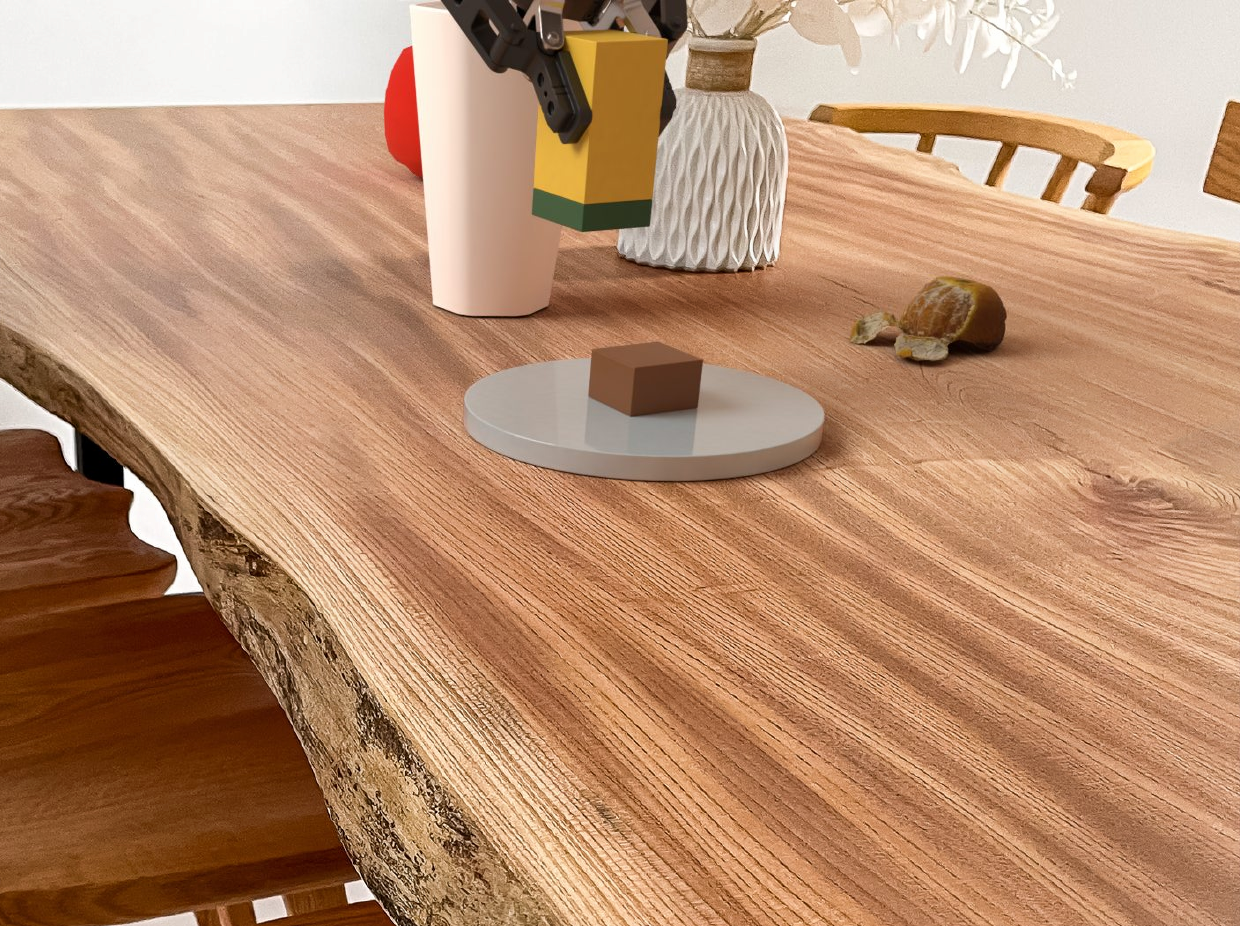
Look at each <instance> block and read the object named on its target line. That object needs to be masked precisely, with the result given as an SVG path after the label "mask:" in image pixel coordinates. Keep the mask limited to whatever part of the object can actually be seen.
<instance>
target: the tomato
mask: <svg viewBox="0 0 1240 926" xmlns="http://www.w3.org/2000/svg"><path fill="white" fill-rule="evenodd" d="M383 104H384V105H383V123H384V137H385V142H386V145H387V150H388V152H389V154H390V155H391V156H392V158H393V159H394V160H395V161H396V162H398V163H400V164H401V165H403V166H405V167H406V169H408V170H409V171H410V172H411V173H412V174H413V175H415V176H417V177H418V178H419V179H422V180H423V171H422V158H421V146H420V133H419V121H418V108H417V96H416V83H415V71H414V58H413V46H412V45H409V46H408V47H405V48H403V49H402V50H401V52H400V53H399V56H398V58H397V59H396V61H395V62H394V64H393V67H392V68H391V71H390V74H389V78H388V83H387V86H386V89H385V94H384V103H383Z"/></svg>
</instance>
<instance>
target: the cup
mask: <svg viewBox="0 0 1240 926" xmlns="http://www.w3.org/2000/svg"><path fill="white" fill-rule="evenodd" d="M509 1H510V0H509ZM510 3H511V2H510ZM511 4H512V3H511ZM408 7H409V18H410V31H411V32H410V33H411V43H412V44H411V46H413V58H414V71H415V83H416V96H417V108H418V121H419V133H420V146H421V158H422V171H423V179H422V181H423V195H424V207H425V208H424V209H425V219H426V230H427V231H426V233H427V245H428V246H427V247H428V257H429V270H430V282H431V294H432V295H431V296H432V304H433V306H436V307H439V308H441V309H444V310H446V311H449V312H452V313H453V314H457V315H462V316H463V315H464V316H470V317H521V316H527V315H531V314H533V313H536V312H537V311H540V310H542V309H544V308H546V307H548V306H549V303H550V299H551V293H552V286H553V280H554V276H555V270H556V264H557V258H558V254H559V248H560V241H561V236H562V230H563V225H560V224H557V223H554V222H551V221H548V220H546V219H543V218H540V217H537V216H534V215H532V201H533V189H534V187H533V186H534V170H535V154H536V138H537V123H538V107H539V100H538V98H537V95H536V92H535V89H534V86H533V84H532V82H529V81H528V80H527V79H526V78H525V77H524V76H523V74H522V72H521V71H518V70H514V69H510V68H508V70H507V71H506V72H504V73H495V72H493V71H492V70H490V69H489V67H488V66H487V65H486V63H485V62H484V61H483V59H482V58H481V56H480V55H479V54H478V52H477V51H476V49H475V48H474V46H473V45H472V44H471V42H470V41H469V39H468V38H467V37H466V35H465V34H464V32H463V31H462V30H461V28H460V27H459V25H458V24H457V23H456V21H455V20H454V18H453V17H452V16H451V14H450V13H449V11H448V10H447V9H446V7H445V6H444V4H443V3H442V2H441V0H432V1H425V2H418V3H417V2H416V3H411V4H410V5H409V6H408ZM489 23H490V26H491V27H492V29H493V30H494V32H495V33H496V34H497V36H498V34H499V31H498V30H497V28H496V27H495V26H494V24H493V23H492V21H491V20H490V19H489ZM563 30H564V31H580V30H583V28H582V27H581V25H580V24H579V22H578V21H574V20H569V19H563Z"/></svg>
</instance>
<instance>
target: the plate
mask: <svg viewBox="0 0 1240 926" xmlns="http://www.w3.org/2000/svg"><path fill="white" fill-rule="evenodd" d="M590 367H591V357H581V358H580V357H579V358H566V359H557V360H556V359H555V360H548V361H547V360H546V361H541V362H534V363H529V364H524V365H523V364H522V365H519V366H513V367H510V368H505V369H503V370H500V371H497V372H493V373H491V374H488V375H486V376H484V377H482V378H481V379H479V380H476V382H474V383H473V384H472V385H470V386H469V387H468V389H466V391H465V393H464V397H463V404H462V405H463V407H462V408H463V409H462V422H463V427H464V429H465V430H466V432H467V433H468V435H469V436H470V437H471V438H473V439H474V440H475V442H477V443H479V444H480V445H482V446H483V447H485V448H487V449H489V450H490V451H493V452H496V453H498V454H499V455H502V456H505V457H508V458H511V459H513V460H516V461H519V462H522V463H526V464H530V465H533V466H537V467H542V468H546V469H551V470H555V471H559V472H565V473H571V474H576V475H583V476H589V477H597V478H607V479H616V480H627V481H628V480H629V481H646V482H648V481H649V482H694V481H712V480H727V479H734V478H740V477H741V478H742V477H748V476H754V475H759V474H765V473H770V472H773V471H776V470H780V469H784V468H787V467H790V466H792V465H795V464H798V463H800V462H802V461H803V460H805V459H807V458H809V457H810V456H812V454H814V453H815V452H816V451H817V450H818V449H819V447H820V446H821V444H822V440H823V434H824V433H823V432H824V426H825V419H826V414H825V410H824V408H823V406H822V405H821V404H820V402H819V401H818V400H817V399H815V398H814V397H813V396H811V395H810V394H809V393H807V392H805V391H803V390H801V389H800V388H797V387H796V386H793V385H791V384H788V383H786V382H784V381H780V380H778V379H774V378H772V377H769V376H766V375H765V376H764V375H761V374H757V373H754V372H751V371H746V370H740V369H737V368H731V367H726V366H720V365H715V364H709V363H703V366H702V375H701V384H700V393H699V401H698V408H693V409H685V410H677V411H670V412H662V413H654V414H647V415H639V416H632V417H630V416H628V415H626V414H624V413H622V412H620V411H618V410H616V409H614V408H611V407H609V406H607V405H605V404H603V403H601V402H599V401H597V400H595V399H593V398H590V397H589V396H588V392H589V379H590Z"/></svg>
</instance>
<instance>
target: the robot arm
mask: <svg viewBox="0 0 1240 926" xmlns="http://www.w3.org/2000/svg"><path fill="white" fill-rule="evenodd" d="M441 2H442V3H443V4H444V6H445V7H446V9H447V10H448V11H449V13H450V14H451V16H452V17H453V18H454V20H455V21H456V23H457V24H458V25H459V27H460V28H461V30H462V31H463V32H464V34H465V35H466V37H467V38H468V39H469V41H470V42H471V44H472V45H473V46H474V48H475V49H476V51H477V52H478V54H479V55H480V56H481V58H482V59H483V61H484V62H485V63H486V65H487V66H488V67H489V69H490V70H492V71H493V72H495V73H504V72H506V71H507V70H508V68H510V69H514V70H518V71H521V72H522V74H523V76H524V77H525V78H526V79H527V80H528V81H529V82H532V84H533V86H534V89H535V92H536V95H537V98H538V100H539V103H540V106H541V109H542V112H543V113H544V117H545V120H546V123H547V125H548V126H549V128H550V129H551V130H552V131H553V133H558V136H559V139H560V141H561V143H562V144H576V143H578V142H579V140H580V139H581V137H582V135H583V134H584V132H585V131H586V129H587V128H588V126H589V125H590V124H591V122H592V110H591V108H590V106H589V103H588V100H587V97H586V95H585V92H584V89H583V86H582V84H581V81H580V78H579V75H578V73H577V70H576V67H575V64H574V61H573V59H572V56H571V53H570V51H568V52H562V51H561V48H562V47H563V45H564V30H563V19H569V20H574V21H578V22H579V24H580V25H581V27H582V28H583V30H608V29H613V30H619V31H624V32H625V28H626V29H627V32H630V33H636V34H641V35H647V36H653V37H658V38H664V39H668V44H667V55H666V61H667V60H668V58H669V56H670V53H671V52H672V51H673V49H674V48H675V46H676V45H677V44H678V41H679V40H680V39H681V38H682V37H683V36H684V35H685V33H686V31H687V29H688V4H687V3H688V2H687V0H510V1H509V0H441ZM510 2H511V3H512V4H511V3H510ZM489 19H490V20H491V21H492V23H493V24H494V26H495V27H496V28H497V30H498V31H499V34H498V36H497V34H496V33H495V32H494V30H493V29H492V27H491V26H490V23H489ZM676 109H677V96H676V94H675V91H674V89H673V86H672V83H671V82H670V78H669V76H668V73H667V70H666V69H665V75H664V86H663V96H662V106H661V112H660V127H659V137H660V136H661V135H662V134H663V132H664V131H665V129H666V128H667V126H668V125H669V123H670V122H671V121H672V119H673V116H674V112H675V110H676Z"/></svg>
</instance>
